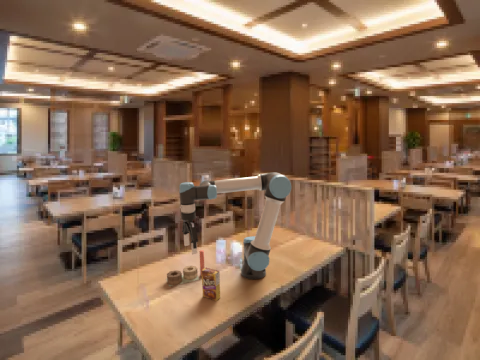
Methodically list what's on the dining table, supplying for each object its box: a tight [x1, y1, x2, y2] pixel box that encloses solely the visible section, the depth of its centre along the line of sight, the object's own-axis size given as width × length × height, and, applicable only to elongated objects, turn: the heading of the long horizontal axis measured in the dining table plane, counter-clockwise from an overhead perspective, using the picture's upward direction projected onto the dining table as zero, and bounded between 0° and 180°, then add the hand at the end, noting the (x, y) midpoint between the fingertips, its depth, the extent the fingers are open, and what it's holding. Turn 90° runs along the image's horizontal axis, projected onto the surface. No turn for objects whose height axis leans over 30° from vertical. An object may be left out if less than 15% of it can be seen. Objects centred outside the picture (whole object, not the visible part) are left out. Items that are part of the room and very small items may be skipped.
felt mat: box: [165, 274, 200, 287], centre depth 174 cm, size 18×10×1 cm, turn 114°
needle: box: [199, 249, 206, 277], centre depth 177 cm, size 3×3×16 cm
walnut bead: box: [166, 270, 183, 286], centre depth 171 cm, size 8×8×5 cm
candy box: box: [201, 267, 221, 302], centre depth 154 cm, size 9×4×15 cm, turn 61°
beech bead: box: [182, 265, 199, 280], centre depth 177 cm, size 8×8×5 cm
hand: (190, 249), depth 160 cm, fingers open, 13 cm apart
